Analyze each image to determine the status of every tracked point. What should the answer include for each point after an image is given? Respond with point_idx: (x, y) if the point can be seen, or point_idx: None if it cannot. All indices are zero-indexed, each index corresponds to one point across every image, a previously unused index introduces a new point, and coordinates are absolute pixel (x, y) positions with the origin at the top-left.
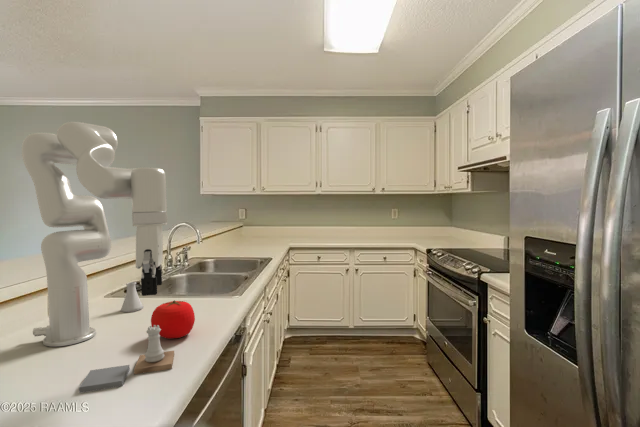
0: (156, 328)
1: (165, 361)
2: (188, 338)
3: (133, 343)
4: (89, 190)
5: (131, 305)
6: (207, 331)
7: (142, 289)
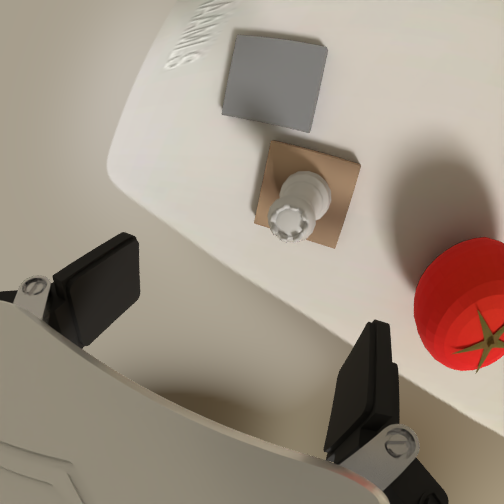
0: (271, 229)
1: None
2: None
3: (487, 176)
4: None
5: None
6: None
7: (103, 248)
